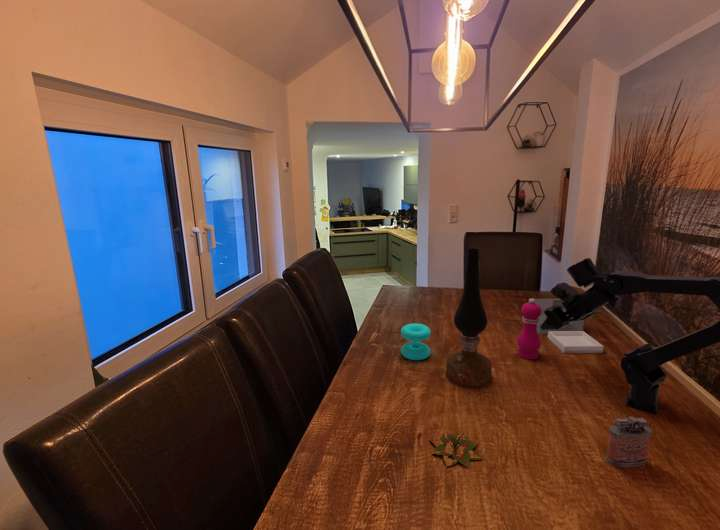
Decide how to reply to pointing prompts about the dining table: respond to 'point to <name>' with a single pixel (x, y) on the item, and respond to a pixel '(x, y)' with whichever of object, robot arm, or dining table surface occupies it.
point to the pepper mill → (529, 331)
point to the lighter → (628, 442)
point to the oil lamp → (470, 333)
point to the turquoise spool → (415, 348)
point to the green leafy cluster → (465, 443)
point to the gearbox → (545, 305)
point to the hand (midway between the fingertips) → (550, 324)
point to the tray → (575, 342)
